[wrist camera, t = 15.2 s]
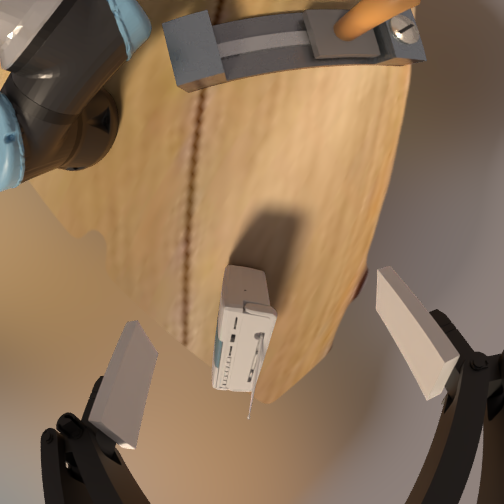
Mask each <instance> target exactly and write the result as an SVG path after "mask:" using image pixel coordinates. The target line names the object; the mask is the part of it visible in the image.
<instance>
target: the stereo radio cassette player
mask: <svg viewBox="0 0 504 504" xmlns="http://www.w3.org/2000/svg"><path fill="white" fill-rule="evenodd" d="M276 319H277V312H276V310H275V309H274V308H273V307H271V306H270V300H269V294H268V288H267V282H266V276H265V272H264V271H261V270H257V269H253V268H248V267H243V266H236V265H228V266H227V267H226V268H225V273H224V278H223V285H222V292H221V299H220V306H219V312H218V320H217V328H216V336H215V344H214V352H213V363H212V385H213V387H214V388H216V389H219V390H231V391H243V392H250V391H252V394H251V402H250V409H249V416H248V417H247V419H250V411H251V406H252V401H253V397H254V391H255V386H256V382H257V379H258V376H259V373H260V370H261V367H262V364H263V361H264V358H265V354H266V351H267V348H268V345H269V342H270V339H271V335H272V332H273V329H274V325H275V322H276Z"/></svg>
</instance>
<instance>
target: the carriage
mask: <svg viewBox="0 0 504 504" xmlns="http://www.w3.org/2000/svg"><path fill="white" fill-rule="evenodd" d="M420 1H421V0H362V1H360V2H359V3H358V4H357V5H356V6H354V7H353V8H352V9H351V10H340V9H312V10H305V11H304V13H303V14H302V17H303V20H304V23H305V26H306V29H307V32H308V36H309V39H310V42H311V46H312V49H313V53H314V57H315V59H323V58H343V57H376V56H379V55H381V54H380V50H379V47H378V43H377V40H376V37H375V33H374V30H373V28H374V27H376V26H378V25H379V24H381V23H383V22H385V21H387V20H389V19H391V18H392V17H394V16H396V15H398V14H400V13H402V12H404V11H406V10H408V9H410V8H412V7H415V6H417V5H419V3H420Z"/></svg>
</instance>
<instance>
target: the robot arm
mask: <svg viewBox="0 0 504 504" xmlns="http://www.w3.org/2000/svg"><path fill="white" fill-rule="evenodd" d="M151 29H152V28H151V22H150V20H149V18H148V16H147V15H146V13H145V11H144V10H143V9H142V7H141V6H140V5H139V3H138V2H137V1H136V0H0V62H1V67H2V69H4V70H7V71H10V72H11V73H10V75H9V77H8V78H7V80H6V82H5V83H4V85H3V87H2V89H1V90H0V192H1V191H4V190H6V189H9V188H15V187H17V186H19V184H20V183H23V182H25V181H27V180H30V179H32V178H34V177H36V176H39V175H41V174H44V173H46V172H49V171H51V170H54V169H56V168H59V169H64V170H69V171H78V170H83V169H85V168H88V167H91V166H93V165H95V164H96V163H98V162H99V161H100V160H102V159H103V158H104V156H105V155H106V154H107V153H108V151H109V150H110V148H111V147H112V145H113V142H114V140H115V137H116V134H117V129H118V112H117V107H116V104H115V102H114V100H113V98H112V96H111V95H110V94H109V93H108V92H107V91H106V90H105V89H103V88H102V86H103V85H104V84H105V83H106V82H107V81H108V79H109V78H110V77H111V76H112V75H113V74H114V73H115V72H116V71H117V70H118V68H119V67H120V66H121V65H122V64H123V63H124V62H125V61H129V60H130V59H131V57H132V54H133V53H134V52H135V51H136V50H137V49H138V48H139V47H140V46H141V45H142V44H143V43H144V42H145V41H146V40H147V39H148V37H149V36H150V34H151ZM377 271H378V272H377V297H376V310H377V312H378V314H379V315H380V317H381V319H382V320H383V322H384V323H385V325H386V327H387V329H388V330H389V332H390V334H391V335H392V337H393V339H394V341H395V342H396V344H397V346H398V347H399V349H400V351H401V353H402V354H403V356H404V358H405V360H406V362H407V364H408V365H409V367H410V369H411V371H412V373H413V375H414V377H415V378H416V380H417V382H418V384H419V386H420V388H421V390H422V392H423V394H424V396H425V398H426V400H429V399H431V398H433V397H435V396H437V395H439V394H441V392H442V390H443V389H444V387H445V388H446V390H447V394H446V396H445V398H444V399H443V401H442V403H441V404H444V406H443V410H442V413H441V417H440V420H439V423H438V426H437V430H436V433H435V436H434V439H433V441H432V444H431V447H430V450H429V452H428V455H427V457H426V460H425V463H424V465H423V467H422V469H421V472H420V474H419V476H418V478H417V481H416V483H415V485H414V487H413V489H412V491H411V493H410V495H409V497H408V499H407V501H406V503H405V504H458V503H459V500H460V498H461V495H462V493H463V490H464V488H465V485H466V482H467V480H468V477H469V474H470V471H471V468H472V464H473V462H474V458H475V454H476V451H477V447H478V443H479V439H480V435H481V431H482V426H483V431H484V434H483V460H482V471H481V480H480V487H479V494H478V500H477V504H504V350H503V352H502V354H498V355H493V356H486V355H485V354H483V353H481V352H474V351H473V349H472V348H471V347H470V346H469V344H468V343H467V341H466V340H465V339H464V337H463V336H462V335H461V333H460V332H459V331H458V330H457V329H456V327H455V326H454V324H452V323H451V321H450V319H449V318H448V317H447V316H446V315H445V314H444V313H442V312H441V311H439V310H437V309H436V310H434V311H431V312H428V311H427V310H426V308H425V307H424V306H423V304H422V303H421V302H420V301H419V299H418V298H417V297H416V296H415V295H414V293H413V292H412V291H411V290H410V289H409V287H408V286H407V285H406V284H405V283H404V281H403V280H402V279H401V278H400V277H399V276H398V274H397V273H396V272H395V271H394V270H393V269H392V267H391V266H387V267H384V268H380V269H378V270H377ZM157 356H158V352H157V351H156V350H155V348H154V346H153V344H152V343H151V341H150V340H149V338H148V336H147V335H146V333H145V332H144V330H143V328H142V327H141V325H140V323H139V322H138V320H137V321H131V322H127V323H126V325H125V328H124V330H123V332H122V334H121V337H120V339H119V341H118V343H117V346H116V348H115V350H114V353H113V355H112V358H111V360H110V362H109V365H108V368H107V370H106V373H105V375H104V376H100V378H99V379H98V380H97V381H96V383H95V384H94V387H93V390H92V393H91V395H90V397H89V398H90V399H89V400H88V403H87V405H86V408H85V411H84V414H83V417H82V420H79V419H78V418H77V417H76V416H75V415H74V414H72V413H65V414H63V415H62V416H61V417H60V418H59V419H58V421H57V425H56V429H57V430H58V431H59V432H60V433H58V432H57V431H56V430H55V429H53V428H48V429H46V430H45V431H44V432H43V434H42V436H41V467H42V481H43V489H44V498H45V504H150V502H149V501H148V499H147V498H146V496H145V495H144V493H143V492H142V490H141V489H140V487H139V486H138V484H137V482H136V481H135V479H134V478H133V476H132V474H131V473H130V471H129V469H128V468H127V466H126V464H125V462H124V461H123V459H122V457H121V455H120V453H119V451H118V450H117V449H116V448H115V445H116V443H117V444H118V445H120V446H121V447H123V448H128V449H136V445H137V440H138V435H139V430H140V426H141V421H142V416H143V412H144V408H145V404H146V399H147V395H148V391H149V387H150V383H151V379H152V375H153V371H154V368H155V364H156V360H157ZM66 463H67V464H68V468H67V467H66Z"/></svg>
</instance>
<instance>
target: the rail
mask: <svg viewBox="0 0 504 504" xmlns="http://www.w3.org/2000/svg"><path fill="white" fill-rule="evenodd" d="M302 14H303V13H289V14H278V15H269V16H262V17H255V18H249V19H243V20H237V21H232V22H228V23H223V24H219V25H214V26H212V24H211V21H210V17H209V14H208V11H207V10H205V11H201V12H197V13H194V14H190V15H187V16H183V17H180V18H177V19H174V20H171V21H168V22H165V23H162V26H163V31H164V35H165V39H166V43H167V47H168V51H169V56H170V60H171V64H172V68H173V72H174V76H175V80H176V84H177V86H178V87H180V88H181V89H183V90H185V91H187V92H188V93H189V92H193V91H196V90H199V89H203V88H207V87H210V86H214V85H218V84H222V83H226V82H230V81H234V80H239V79H243V78H248V77H253V76H258V75H264V74H270V73H276V72H282V71H289V70H297V69H306V68H316V67H329V66H349V65H385V66H404V65H408V64H413V63H418V62H423V61H427V60H426V56H425V52H424V48H423V45H422V41H421V38H420V35H419V31H418V28H417V25H416V22H415V19H414V17H413V14H412V11H411V9H408V10H406V11H404V12H402V13H400V14H398V15H396V16H394V17H392V18H391V19H389V20H387V21H385V22H383V23H381V24H379V25H378V26H376V27H374V28H373V30H374V33H375V37H376V40H377V43H378V47H379V50H380V54H381V55H379V56H376V57H343V58H323V59H315V57H314V53H313V49H312V46H311V42H310V39H309V36H308V32H307V29H306V26H305V23H304V20H303V17H302Z"/></svg>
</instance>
